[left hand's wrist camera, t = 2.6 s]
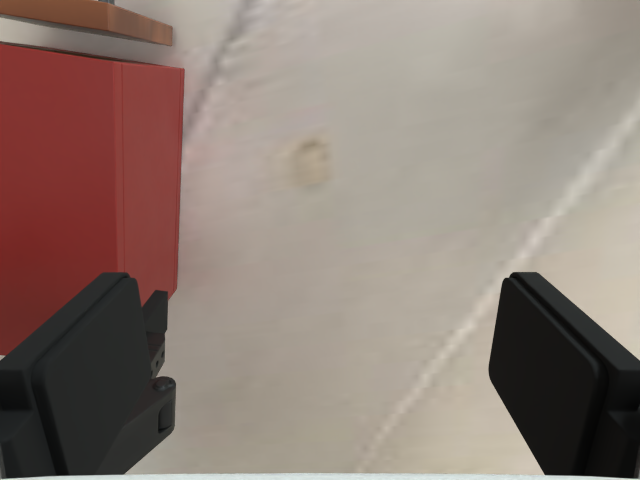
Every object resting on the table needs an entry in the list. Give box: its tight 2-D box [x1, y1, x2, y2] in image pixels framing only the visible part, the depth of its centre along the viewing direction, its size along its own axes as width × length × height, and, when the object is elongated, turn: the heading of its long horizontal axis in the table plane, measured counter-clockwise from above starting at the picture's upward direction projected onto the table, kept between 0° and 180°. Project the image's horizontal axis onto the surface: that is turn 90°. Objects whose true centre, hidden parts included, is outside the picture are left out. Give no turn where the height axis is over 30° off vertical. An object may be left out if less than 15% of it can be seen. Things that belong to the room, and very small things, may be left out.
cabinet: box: [0, 41, 184, 356], centre depth 27 cm, size 17×10×11 cm, turn 172°
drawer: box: [0, 0, 172, 65], centre depth 25 cm, size 22×9×9 cm, turn 172°
